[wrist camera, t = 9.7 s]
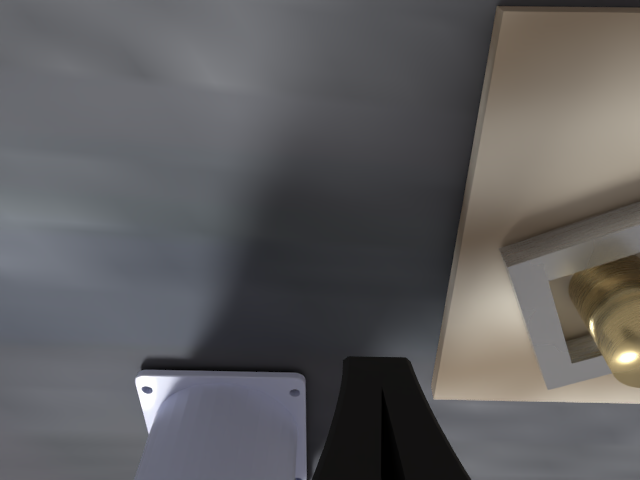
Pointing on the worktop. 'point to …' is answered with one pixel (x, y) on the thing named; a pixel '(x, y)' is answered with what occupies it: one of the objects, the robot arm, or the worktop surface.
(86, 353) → the worktop surface
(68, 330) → the worktop surface
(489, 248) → the board
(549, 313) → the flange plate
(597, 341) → the post
